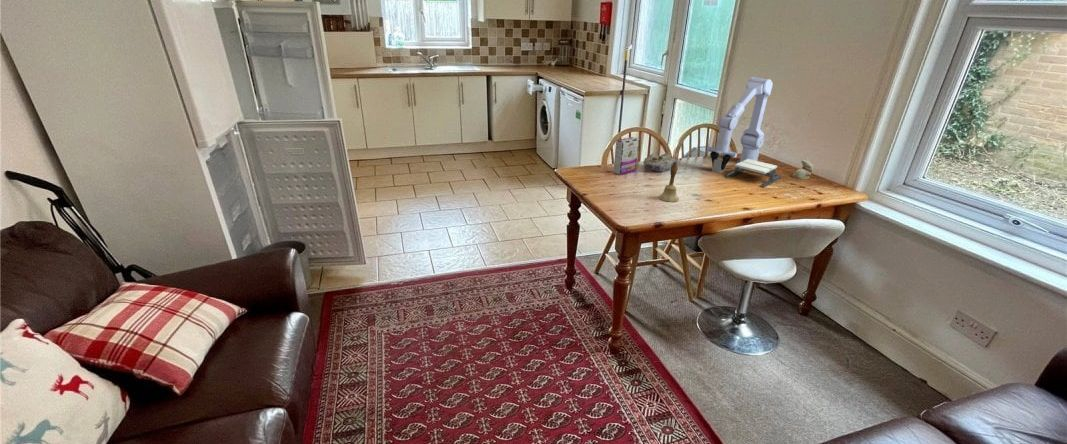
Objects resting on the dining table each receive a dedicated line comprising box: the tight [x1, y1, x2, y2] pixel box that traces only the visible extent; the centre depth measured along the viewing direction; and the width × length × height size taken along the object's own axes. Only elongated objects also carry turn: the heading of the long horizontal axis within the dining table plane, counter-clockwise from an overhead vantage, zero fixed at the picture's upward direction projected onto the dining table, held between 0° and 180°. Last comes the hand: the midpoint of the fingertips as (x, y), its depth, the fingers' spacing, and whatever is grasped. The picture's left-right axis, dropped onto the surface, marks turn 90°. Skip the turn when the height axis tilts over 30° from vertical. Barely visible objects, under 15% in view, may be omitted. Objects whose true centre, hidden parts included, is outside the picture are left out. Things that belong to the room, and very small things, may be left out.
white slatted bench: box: [725, 159, 782, 189], centre depth 219 cm, size 20×18×6 cm
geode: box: [642, 153, 678, 173], centre depth 227 cm, size 17×9×15 cm
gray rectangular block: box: [711, 157, 725, 174], centre depth 227 cm, size 4×4×6 cm
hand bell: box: [658, 161, 680, 203], centre depth 190 cm, size 8×8×16 cm
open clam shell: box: [791, 157, 815, 180], centre depth 221 cm, size 6×8×10 cm
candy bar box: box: [612, 136, 640, 176], centre depth 220 cm, size 11×5×16 cm, turn 126°
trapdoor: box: [734, 159, 778, 175], centre depth 217 cm, size 14×14×1 cm
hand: (718, 168), depth 227 cm, fingers closed on gray rectangular block, 4 cm apart
